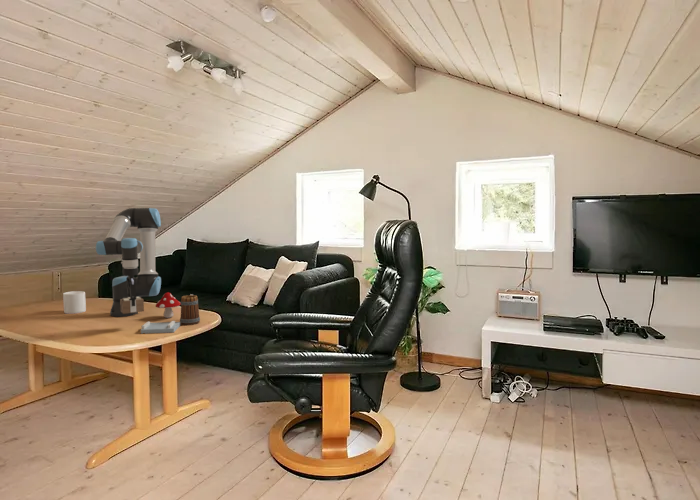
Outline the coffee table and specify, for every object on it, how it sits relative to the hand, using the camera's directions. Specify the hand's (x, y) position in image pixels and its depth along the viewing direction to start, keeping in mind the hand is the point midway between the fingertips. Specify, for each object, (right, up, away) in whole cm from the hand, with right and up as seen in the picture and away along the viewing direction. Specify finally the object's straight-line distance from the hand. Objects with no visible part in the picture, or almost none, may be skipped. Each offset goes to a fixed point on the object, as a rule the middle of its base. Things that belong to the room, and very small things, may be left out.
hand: (132, 310), depth 242 cm
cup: (-56, -7, +42) cm, 70 cm away
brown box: (0, -1, 0) cm, 0 cm away
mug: (+26, -9, +15) cm, 31 cm away
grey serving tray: (+16, -10, -2) cm, 19 cm away
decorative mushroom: (+9, -8, +26) cm, 28 cm away
